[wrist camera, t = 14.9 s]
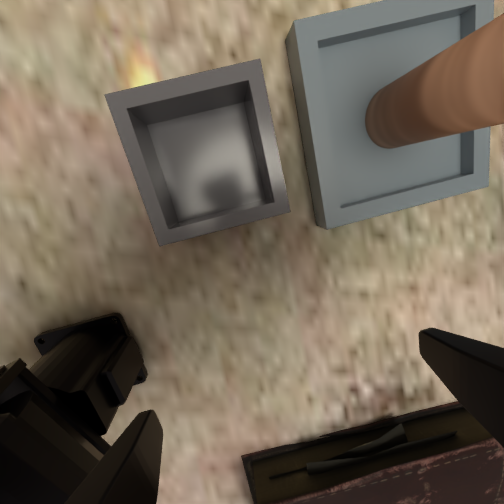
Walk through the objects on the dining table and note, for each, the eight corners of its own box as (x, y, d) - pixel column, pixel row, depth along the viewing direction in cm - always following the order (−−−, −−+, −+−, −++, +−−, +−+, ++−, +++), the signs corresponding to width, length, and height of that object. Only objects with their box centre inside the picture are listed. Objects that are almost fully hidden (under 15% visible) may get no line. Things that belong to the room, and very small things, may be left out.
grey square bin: (172, 233, 18) (159, 246, 14) (132, 116, 16) (104, 94, 12) (276, 206, 19) (290, 212, 15) (251, 88, 16) (260, 58, 12)
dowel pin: (368, 154, 17) (548, 114, 8) (361, 91, 16) (562, -46, 7) (421, 141, 18) (661, 86, 8) (418, 78, 16) (693, -75, 7)
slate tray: (316, 225, 19) (326, 229, 17) (285, 40, 16) (293, 20, 14) (463, 186, 20) (488, 186, 18) (462, 0, 16) (494, -25, 15)
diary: (455, 500, 32) (496, 556, 27) (267, 553, 30) (276, 623, 25) (467, 387, 26) (522, 433, 22) (239, 445, 25) (243, 508, 20)
